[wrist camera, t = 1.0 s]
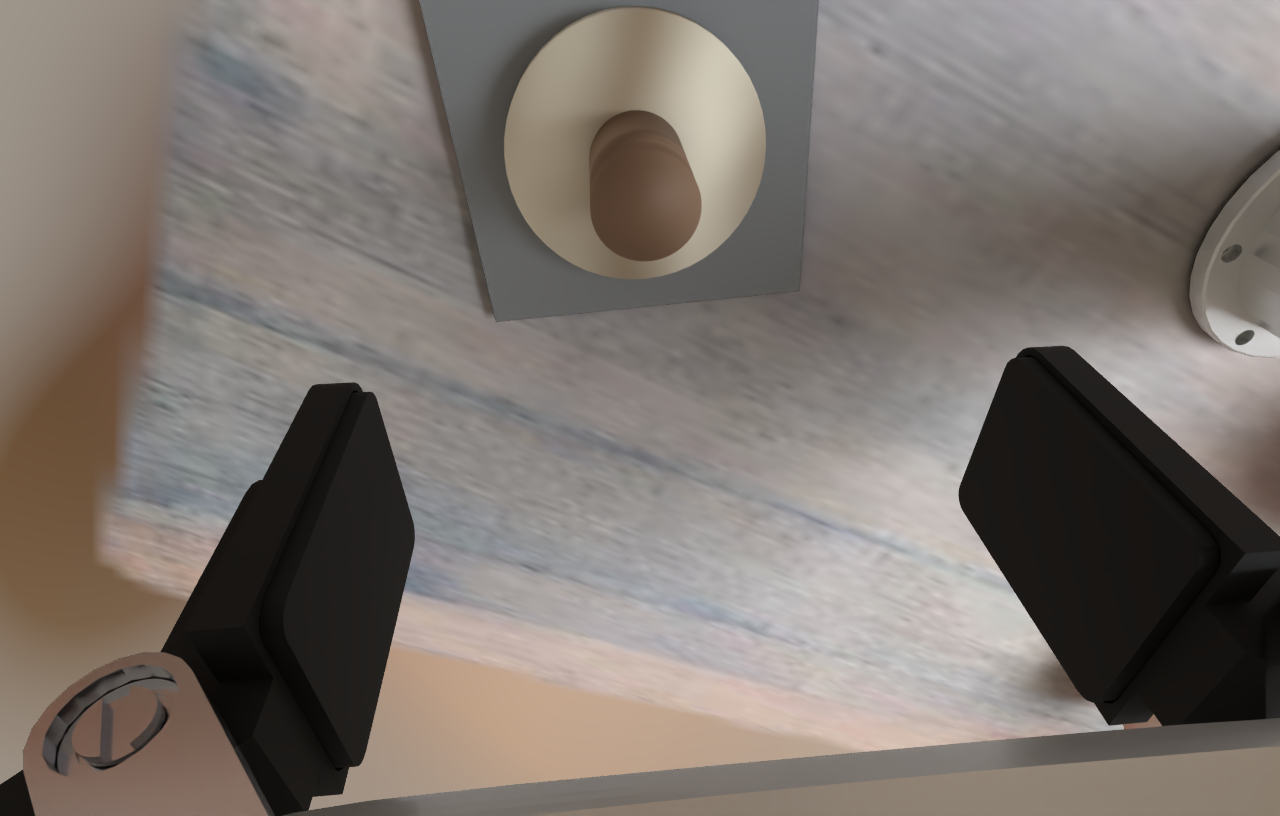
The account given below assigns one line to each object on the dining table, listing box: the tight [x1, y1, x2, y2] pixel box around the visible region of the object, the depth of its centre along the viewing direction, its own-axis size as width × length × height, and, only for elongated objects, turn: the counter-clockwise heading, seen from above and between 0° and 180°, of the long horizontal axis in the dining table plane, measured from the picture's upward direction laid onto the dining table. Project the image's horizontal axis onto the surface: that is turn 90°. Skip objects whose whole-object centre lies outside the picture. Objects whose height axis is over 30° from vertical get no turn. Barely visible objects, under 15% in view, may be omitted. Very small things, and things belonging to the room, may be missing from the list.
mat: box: [419, 0, 819, 322], centre depth 27 cm, size 14×14×1 cm
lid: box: [504, 6, 766, 279], centre depth 25 cm, size 10×10×6 cm
